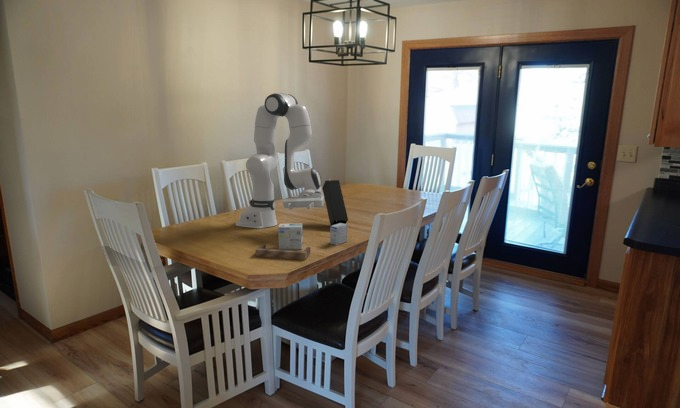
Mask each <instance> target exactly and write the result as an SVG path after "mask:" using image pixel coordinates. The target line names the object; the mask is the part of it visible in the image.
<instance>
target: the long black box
mask: <svg viewBox="0 0 680 408" xmlns="http://www.w3.org/2000/svg"><path fill="white" fill-rule="evenodd" d="M322 192H323V195H324V203H325V206H326V209H327V210H326V211H327V215H328V220H329V221H328V222H329V225H330V226H332V225H336V224H339V223H343V224H347V222H348V221H349V217H348V214H347V213H348V212H347V209H346V205H345V202H344V201H345V200H344V195H343V191H342V188H341V183H340V180H339V179H334V180H333V179H332V180H331V178H329V180H325V181H324V183H323V186H322ZM330 226H329V227H330Z"/></svg>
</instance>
